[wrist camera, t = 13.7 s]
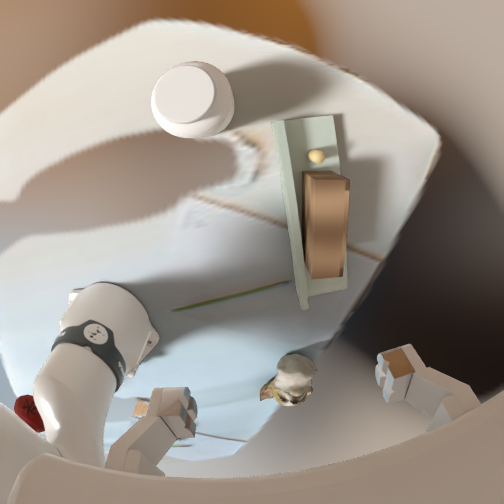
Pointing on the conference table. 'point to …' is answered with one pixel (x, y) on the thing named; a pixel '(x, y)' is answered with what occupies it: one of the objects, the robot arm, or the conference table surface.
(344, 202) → the wooden box
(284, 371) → the ceramic sculpture
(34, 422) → the lantern
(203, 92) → the pill bottle
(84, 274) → the conference table surface
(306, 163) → the ledge
